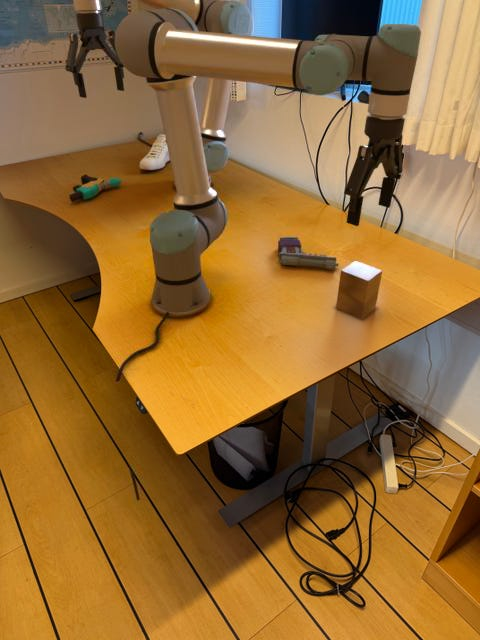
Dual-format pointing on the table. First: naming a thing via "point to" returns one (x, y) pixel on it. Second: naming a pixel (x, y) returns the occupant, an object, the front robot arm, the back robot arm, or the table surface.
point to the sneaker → (156, 155)
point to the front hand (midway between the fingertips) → (368, 214)
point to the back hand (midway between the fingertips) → (102, 93)
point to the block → (358, 289)
